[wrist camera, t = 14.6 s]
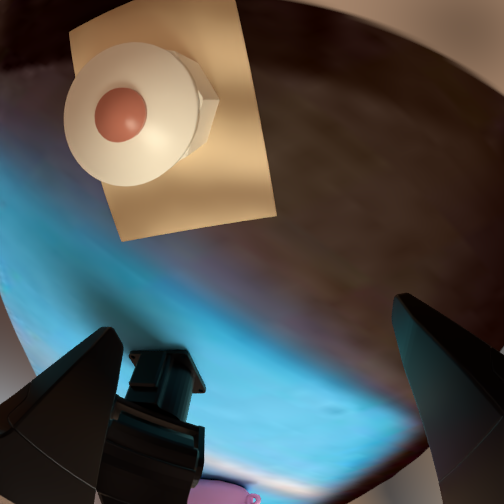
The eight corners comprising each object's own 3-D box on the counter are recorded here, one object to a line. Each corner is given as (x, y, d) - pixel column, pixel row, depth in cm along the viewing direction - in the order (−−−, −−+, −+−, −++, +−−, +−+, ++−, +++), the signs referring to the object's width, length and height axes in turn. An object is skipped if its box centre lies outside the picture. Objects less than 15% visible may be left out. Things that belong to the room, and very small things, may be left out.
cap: (105, 149, 17) (52, 172, 12) (128, 50, 14) (76, 38, 9) (199, 173, 17) (172, 205, 12) (231, 68, 14) (214, 53, 9)
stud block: (276, 210, 19) (279, 247, 15) (127, 235, 21) (95, 273, 16) (230, -22, 12) (217, -58, 8) (76, 33, 13) (30, 25, 9)
